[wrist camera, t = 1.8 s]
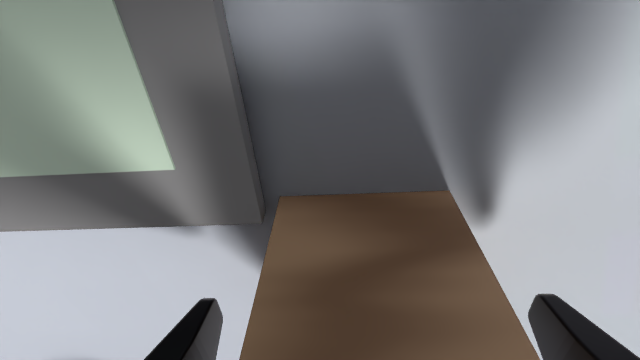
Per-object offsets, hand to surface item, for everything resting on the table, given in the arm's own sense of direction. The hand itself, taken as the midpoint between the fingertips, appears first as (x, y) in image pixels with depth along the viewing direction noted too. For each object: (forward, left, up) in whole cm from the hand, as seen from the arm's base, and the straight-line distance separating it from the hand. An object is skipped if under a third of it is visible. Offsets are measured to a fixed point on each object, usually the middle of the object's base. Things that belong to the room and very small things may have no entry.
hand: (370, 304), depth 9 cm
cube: (0, 0, -2) cm, 2 cm away
